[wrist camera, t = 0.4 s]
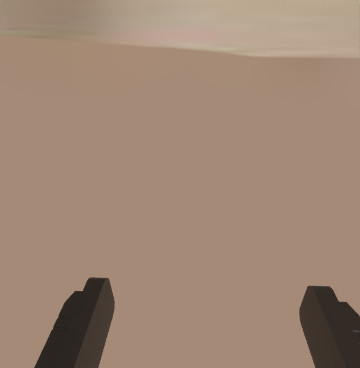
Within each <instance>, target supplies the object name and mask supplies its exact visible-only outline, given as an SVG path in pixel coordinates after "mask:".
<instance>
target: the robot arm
mask: <svg viewBox="0 0 360 368" xmlns="http://www.w3.org/2000/svg"><path fill="white" fill-rule="evenodd" d="M113 313H114V297H113V293H112V289H111V285H110V281H109V279H108V278H89V279H88V280H87V282H86V285H85V287H84V289H83V291H75V292H74V293H73V294H72V295H71V296H70V297H69V299H67V301H66V302H65V303H64V305H63V308H62V309H61V312H60V314H59V317H58V319H57V320H56V322H55V324H54V327H53V330H52V331H51V333H50V335H49V338H48V340H47V342H46V344H45V346H44V348H43V350H42V352H41V355H40V357H39V359H38V361H37V363H36V365H35V367H34V368H98V367H99V363H100V360H101V356H102V352H103V349H104V345H105V342H106V338H107V335H108V331H109V328H110V324H111V321H112V317H113ZM300 322H301V325H302V328H303V332H304V335H305V338H306V340H307V344H308V347H309V350H310V353H311V356H312V358H313V362H314V365H315V368H360V316H359V315H358V314H357V313H356V312H355V311H354V310H353V309H352V308H351V307H350V306H349V304H348V303H347V302H339V301H338V300H337V297H336V295H335V293H334V291H333V290H332V288H331V287H329V286H308V287H307V290H306V293H305V295H304V298H303V301H302V303H301V307H300Z"/></svg>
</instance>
